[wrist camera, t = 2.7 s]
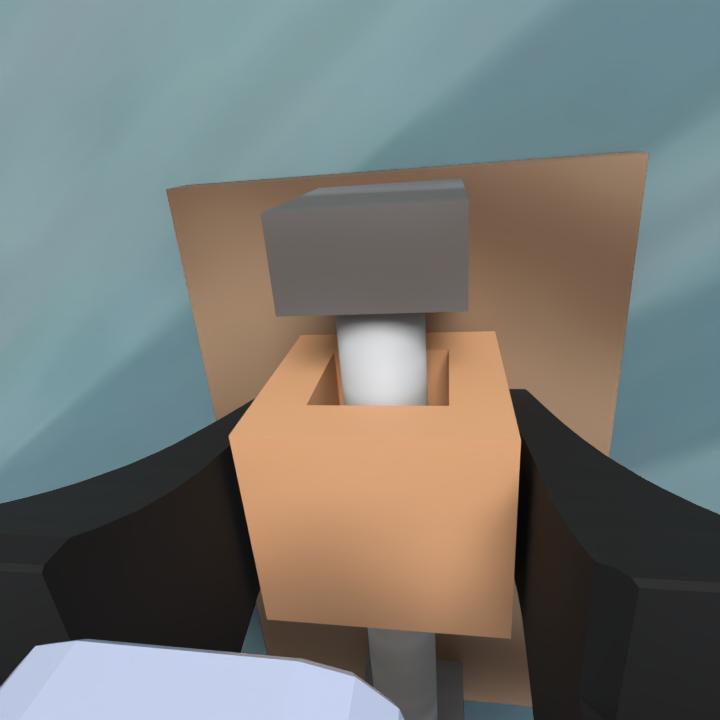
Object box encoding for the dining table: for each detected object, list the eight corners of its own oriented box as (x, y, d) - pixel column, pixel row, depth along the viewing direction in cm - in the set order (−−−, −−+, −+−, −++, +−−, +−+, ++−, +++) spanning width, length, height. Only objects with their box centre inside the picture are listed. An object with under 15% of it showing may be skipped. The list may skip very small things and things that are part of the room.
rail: (568, 680, 17) (610, 866, 13) (281, 654, 19) (231, 810, 15) (632, 151, 11) (757, 164, 6) (186, 184, 12) (46, 213, 8)
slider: (491, 481, 13) (511, 638, 9) (319, 476, 14) (266, 619, 10) (495, 331, 11) (521, 440, 7) (300, 335, 12) (228, 436, 8)
